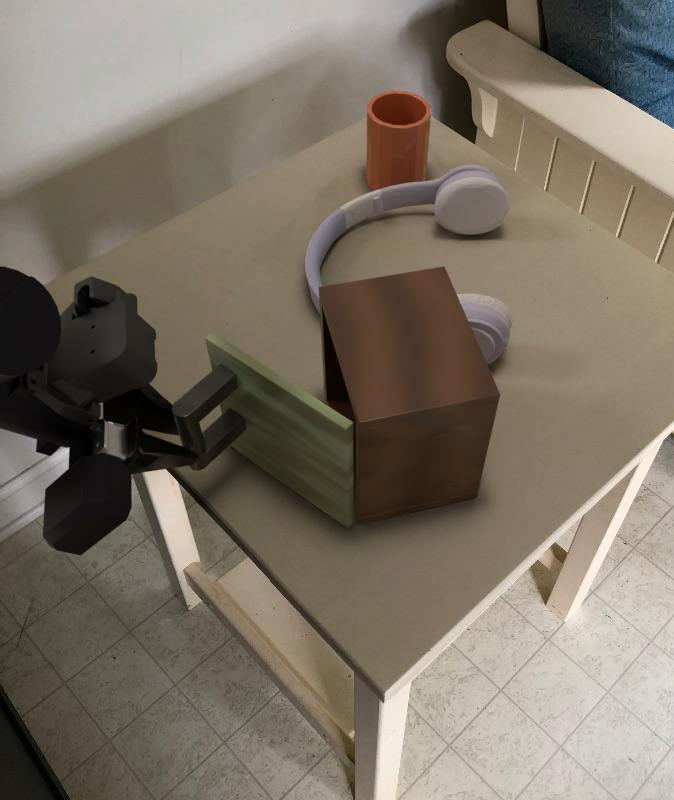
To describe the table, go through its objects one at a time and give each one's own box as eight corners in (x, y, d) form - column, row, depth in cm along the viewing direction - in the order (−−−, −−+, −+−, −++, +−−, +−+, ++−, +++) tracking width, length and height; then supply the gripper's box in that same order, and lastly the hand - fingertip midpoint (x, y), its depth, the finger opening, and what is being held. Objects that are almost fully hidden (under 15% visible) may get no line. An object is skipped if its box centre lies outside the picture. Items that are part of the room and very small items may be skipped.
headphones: (507, 214, 89) (324, 209, 91) (512, 159, 84) (317, 155, 85) (509, 373, 76) (294, 365, 77) (516, 321, 70) (283, 313, 71)
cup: (365, 198, 90) (366, 126, 83) (366, 160, 94) (367, 89, 87) (426, 199, 91) (431, 128, 83) (424, 162, 95) (430, 91, 87)
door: (304, 577, 63) (293, 483, 52) (182, 487, 67) (148, 383, 56) (354, 521, 66) (353, 422, 55) (234, 438, 70) (212, 331, 59)
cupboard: (359, 524, 66) (359, 422, 55) (324, 398, 73) (318, 286, 62) (477, 498, 68) (500, 394, 57) (431, 378, 75) (444, 265, 64)
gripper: (43, 434, 41) (280, 506, 52) (57, 190, 52) (252, 292, 62) (-61, 531, 46) (174, 579, 57) (-28, 291, 57) (165, 369, 68)
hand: (194, 445), depth 61 cm, fingers closed
